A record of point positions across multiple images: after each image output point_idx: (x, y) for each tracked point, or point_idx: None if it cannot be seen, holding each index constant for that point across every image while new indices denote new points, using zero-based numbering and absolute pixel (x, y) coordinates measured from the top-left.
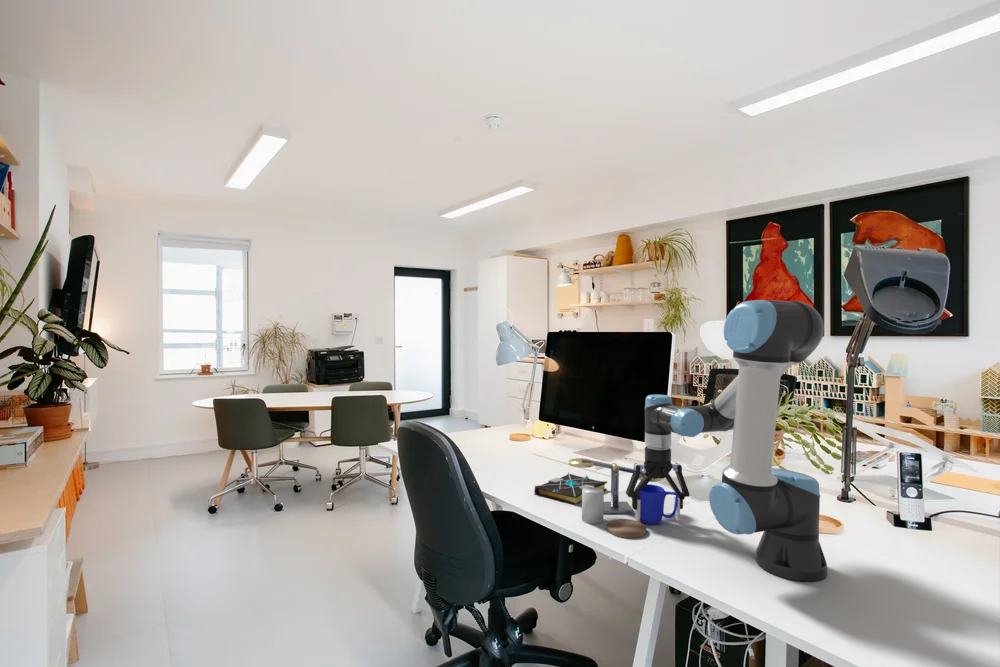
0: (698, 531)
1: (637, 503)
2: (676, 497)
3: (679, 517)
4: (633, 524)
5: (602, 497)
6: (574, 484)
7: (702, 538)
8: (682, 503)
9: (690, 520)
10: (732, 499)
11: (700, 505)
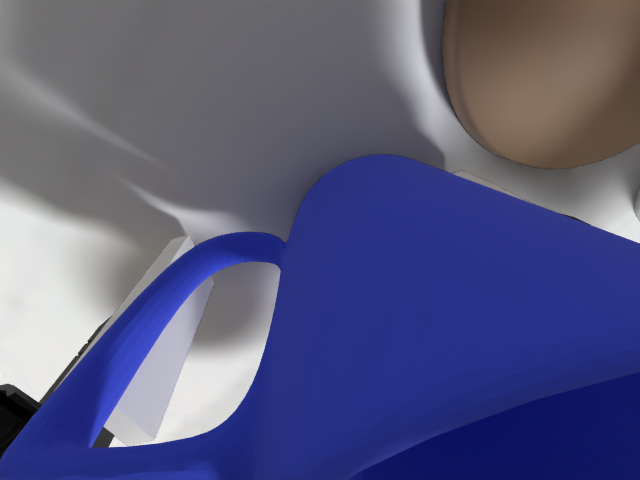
0: (4, 103)
1: None
2: (63, 401)
3: (163, 252)
4: (551, 52)
5: None
6: None
7: None
8: (76, 359)
9: (120, 290)
10: None
11: (112, 439)
